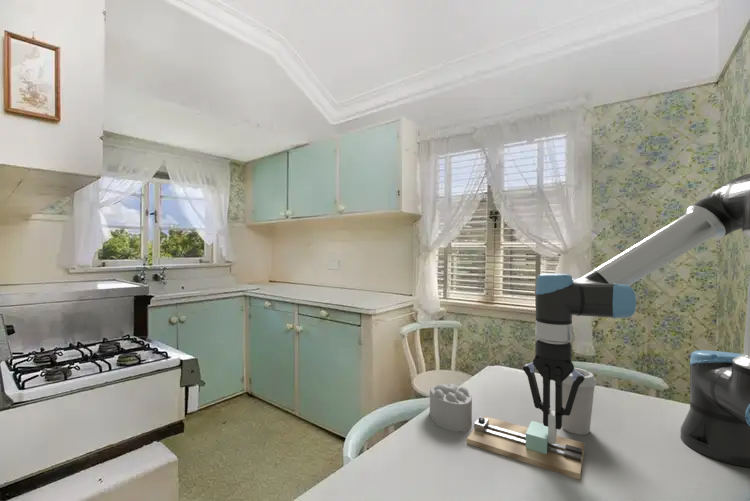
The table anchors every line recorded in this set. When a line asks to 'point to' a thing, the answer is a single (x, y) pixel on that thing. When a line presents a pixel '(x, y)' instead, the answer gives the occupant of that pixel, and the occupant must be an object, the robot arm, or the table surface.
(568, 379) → the coffee cup
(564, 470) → the board
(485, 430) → the slide rail
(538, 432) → the mint sliding carriage
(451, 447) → the table surface
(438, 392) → the lumpy-topped squat cylinder
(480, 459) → the table surface
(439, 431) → the table surface
